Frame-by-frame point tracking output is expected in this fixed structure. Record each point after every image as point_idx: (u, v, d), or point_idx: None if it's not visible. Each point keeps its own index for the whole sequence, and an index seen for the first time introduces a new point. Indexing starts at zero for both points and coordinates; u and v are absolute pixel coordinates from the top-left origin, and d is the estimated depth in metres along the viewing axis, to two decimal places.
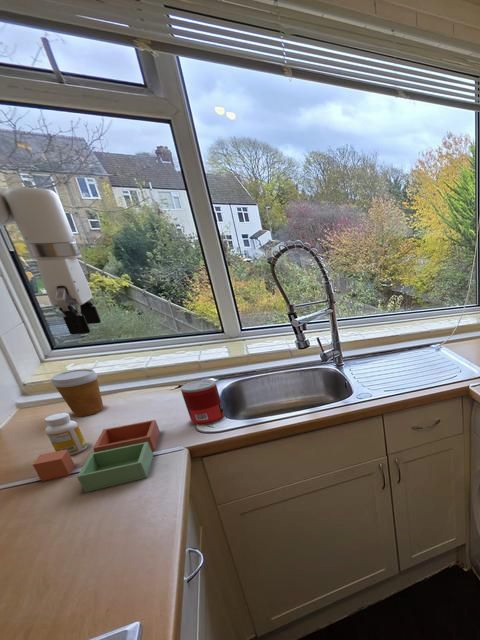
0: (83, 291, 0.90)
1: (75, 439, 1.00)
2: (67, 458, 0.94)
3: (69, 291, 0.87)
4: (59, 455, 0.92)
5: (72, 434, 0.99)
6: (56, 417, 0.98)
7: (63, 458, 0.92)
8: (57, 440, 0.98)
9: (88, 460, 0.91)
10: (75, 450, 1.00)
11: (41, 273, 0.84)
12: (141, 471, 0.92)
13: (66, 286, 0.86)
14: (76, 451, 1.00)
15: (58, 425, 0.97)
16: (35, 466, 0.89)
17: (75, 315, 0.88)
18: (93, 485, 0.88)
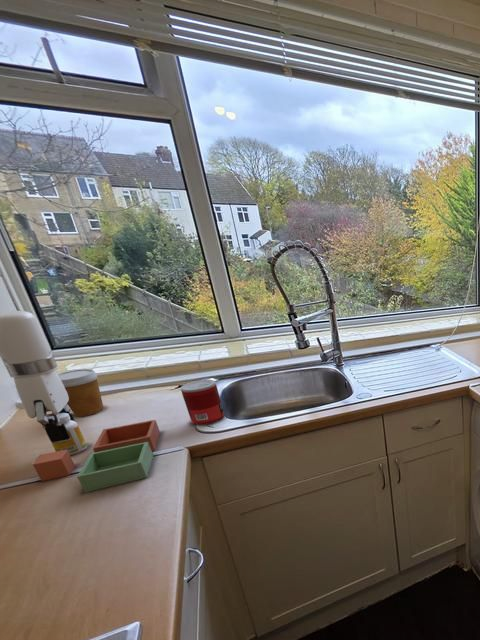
0: (59, 400, 0.96)
1: (75, 439, 1.00)
2: (67, 458, 0.94)
3: (45, 404, 0.92)
4: (59, 455, 0.92)
5: (72, 434, 0.99)
6: None
7: (63, 458, 0.92)
8: None
9: (88, 460, 0.91)
10: (75, 450, 1.00)
11: (18, 390, 0.90)
12: (141, 471, 0.92)
13: (42, 400, 0.92)
14: (76, 451, 1.00)
15: None
16: (35, 466, 0.89)
17: (55, 426, 0.95)
18: (93, 485, 0.88)
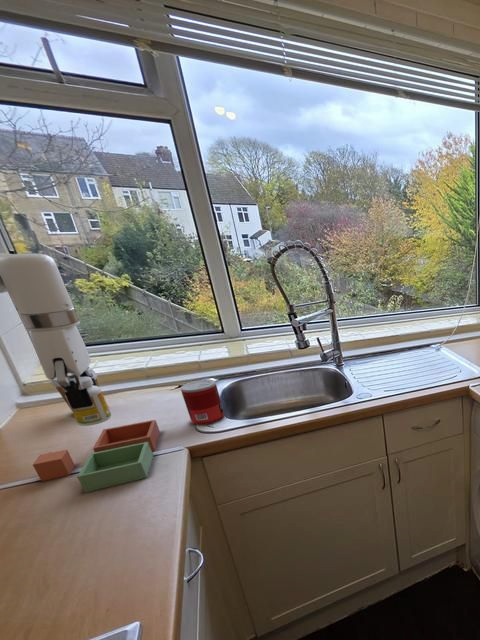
0: (81, 360, 0.83)
1: (99, 407, 0.87)
2: (67, 458, 0.94)
3: (66, 363, 0.80)
4: (59, 455, 0.92)
5: (95, 401, 0.87)
6: None
7: (63, 458, 0.92)
8: None
9: (88, 460, 0.91)
10: (98, 419, 0.88)
11: (35, 346, 0.77)
12: (141, 471, 0.92)
13: (63, 358, 0.79)
14: (100, 421, 0.88)
15: None
16: (35, 466, 0.89)
17: (77, 389, 0.83)
18: (93, 485, 0.88)
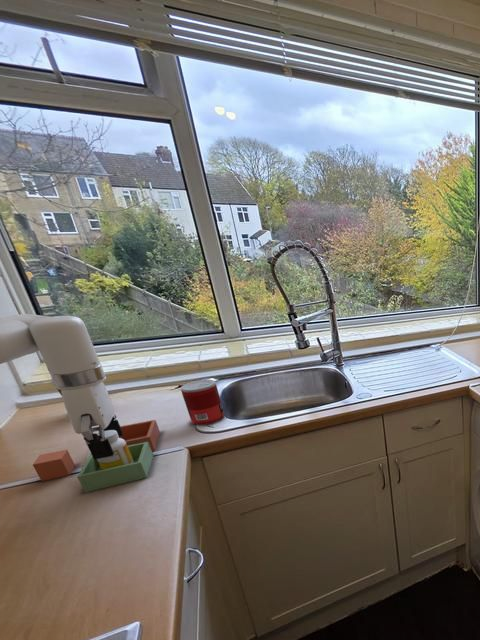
0: (107, 413, 0.88)
1: (124, 459, 0.92)
2: (67, 458, 0.94)
3: (93, 418, 0.84)
4: (59, 455, 0.92)
5: (121, 453, 0.91)
6: None
7: (63, 458, 0.92)
8: (106, 460, 0.90)
9: (88, 460, 0.91)
10: None
11: (65, 403, 0.81)
12: (141, 471, 0.92)
13: (91, 413, 0.84)
14: None
15: None
16: (35, 466, 0.89)
17: (99, 441, 0.85)
18: (93, 485, 0.88)
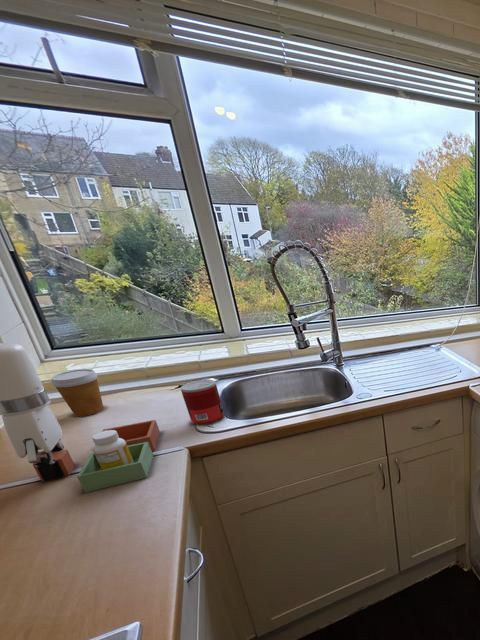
0: (52, 436, 0.89)
1: (124, 459, 0.92)
2: (67, 458, 0.94)
3: (36, 442, 0.86)
4: (59, 455, 0.92)
5: (121, 453, 0.91)
6: (104, 435, 0.89)
7: (63, 458, 0.92)
8: (106, 460, 0.90)
9: (88, 460, 0.91)
10: None
11: (7, 429, 0.83)
12: (141, 471, 0.92)
13: (33, 438, 0.85)
14: None
15: (107, 444, 0.89)
16: None
17: (48, 464, 0.89)
18: (93, 485, 0.88)
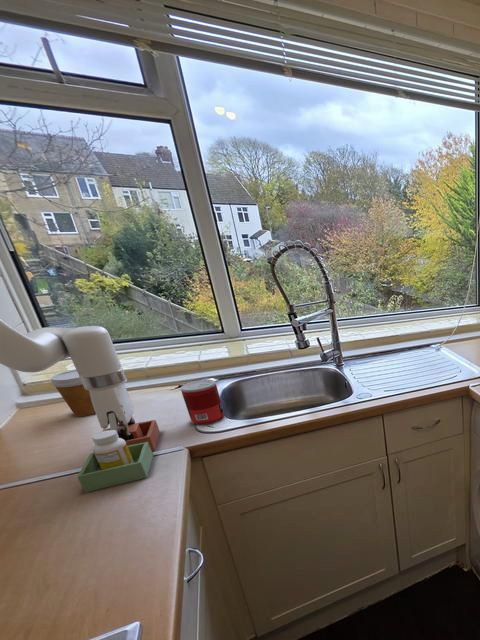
0: (128, 410, 1.00)
1: (124, 459, 0.92)
2: (139, 431, 1.04)
3: (117, 415, 0.96)
4: (133, 428, 1.02)
5: (121, 453, 0.91)
6: (104, 435, 0.89)
7: (137, 431, 1.02)
8: (106, 460, 0.90)
9: (88, 460, 0.91)
10: None
11: (93, 402, 0.93)
12: (141, 471, 0.92)
13: (114, 411, 0.96)
14: None
15: (107, 444, 0.89)
16: None
17: (125, 435, 0.99)
18: (93, 485, 0.88)
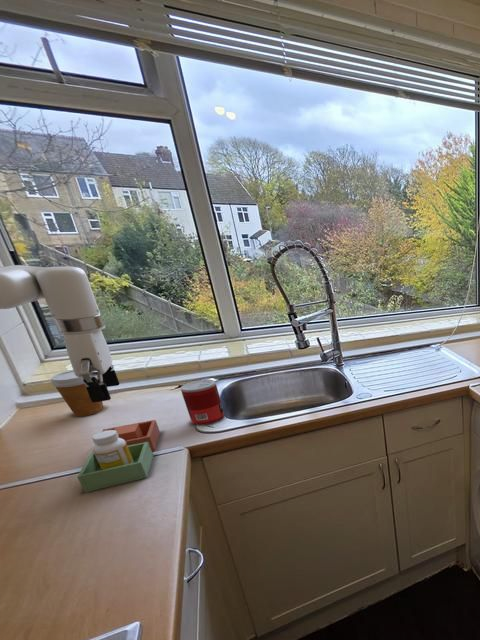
0: (105, 360, 0.94)
1: (124, 459, 0.92)
2: (138, 431, 1.04)
3: (93, 362, 0.91)
4: (132, 428, 1.02)
5: (121, 453, 0.91)
6: (104, 435, 0.89)
7: (136, 431, 1.02)
8: (106, 460, 0.90)
9: (88, 460, 0.91)
10: None
11: (67, 347, 0.88)
12: (141, 471, 0.92)
13: (90, 358, 0.90)
14: None
15: (107, 444, 0.89)
16: None
17: (97, 385, 0.92)
18: (93, 485, 0.88)
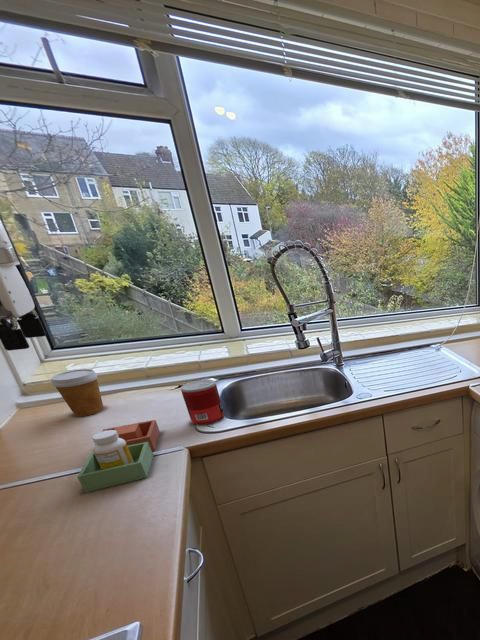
0: (21, 302, 0.81)
1: (124, 459, 0.92)
2: (138, 431, 1.04)
3: (3, 302, 0.78)
4: (132, 428, 1.02)
5: (121, 453, 0.91)
6: (104, 435, 0.89)
7: (136, 431, 1.02)
8: (106, 460, 0.90)
9: (88, 460, 0.91)
10: None
11: None
12: (141, 471, 0.92)
13: None
14: None
15: (107, 444, 0.89)
16: None
17: (10, 329, 0.79)
18: (93, 485, 0.88)
